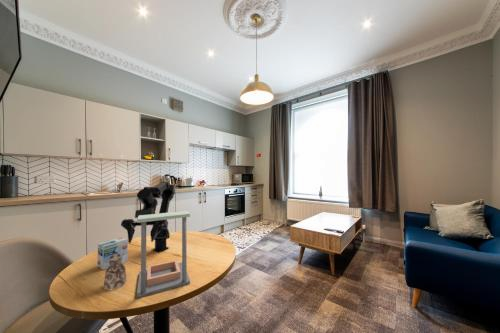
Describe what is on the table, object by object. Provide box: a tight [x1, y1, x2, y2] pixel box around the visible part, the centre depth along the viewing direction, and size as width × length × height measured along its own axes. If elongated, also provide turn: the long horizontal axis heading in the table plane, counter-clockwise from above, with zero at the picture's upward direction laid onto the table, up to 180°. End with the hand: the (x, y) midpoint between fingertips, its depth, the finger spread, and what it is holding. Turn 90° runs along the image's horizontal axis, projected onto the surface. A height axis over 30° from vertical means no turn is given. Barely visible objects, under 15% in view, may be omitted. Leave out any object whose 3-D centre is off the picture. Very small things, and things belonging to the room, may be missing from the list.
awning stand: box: [136, 210, 191, 299], centre depth 78 cm, size 18×18×27 cm
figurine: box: [103, 252, 127, 291], centre depth 73 cm, size 7×7×12 cm
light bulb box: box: [97, 237, 129, 271], centre depth 91 cm, size 11×7×11 cm, turn 148°
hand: (140, 242), depth 82 cm, fingers open, 9 cm apart
